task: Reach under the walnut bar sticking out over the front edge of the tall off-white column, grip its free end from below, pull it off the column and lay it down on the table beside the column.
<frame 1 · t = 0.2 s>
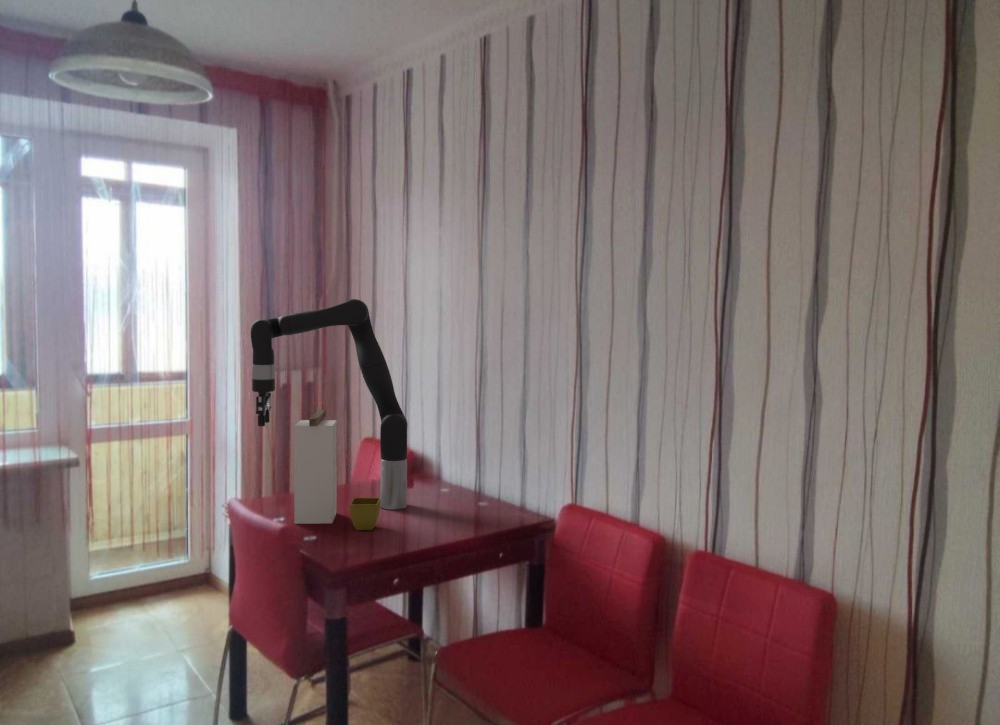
hand: (263, 424, 259), 29 cm above the table, tool pointing down, fingers open, 8 cm apart
flower pot: (365, 529, 239), on the table
off-white column: (315, 518, 249), on the table
walnut bar: (317, 421, 251), point 32 cm above the table, touching off-white column
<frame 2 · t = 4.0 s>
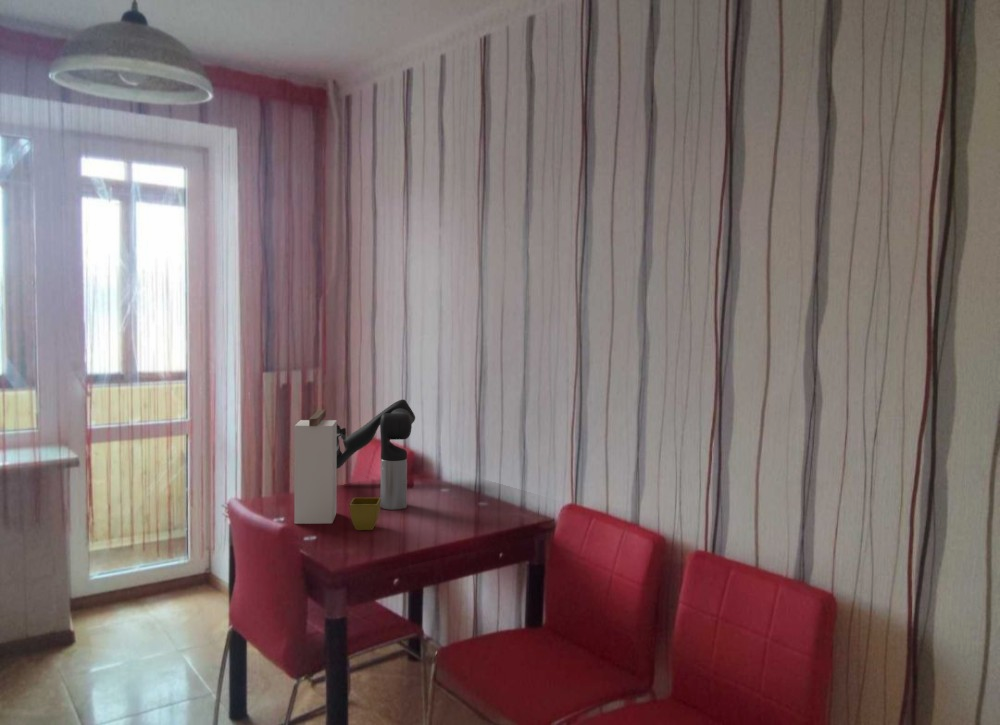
hand: (324, 426, 268), 27 cm above the table, tool pointing upward, fingers open, 8 cm apart
nothing on the table moved.
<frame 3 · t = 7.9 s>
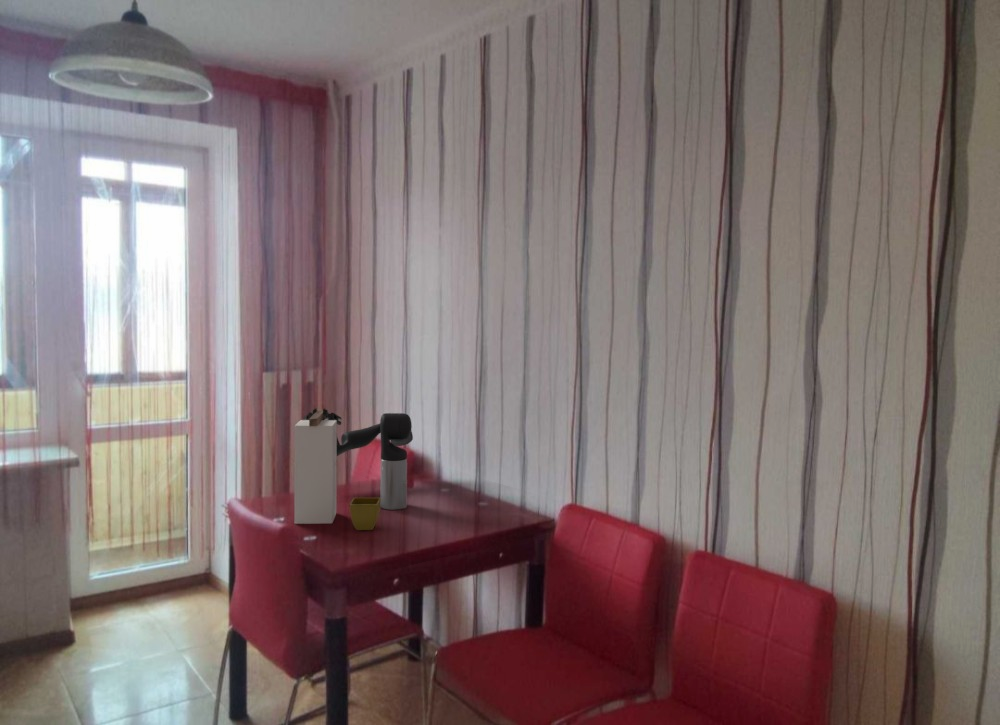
hand: (319, 411, 255), 35 cm above the table, tool pointing upward, fingers closed on walnut bar, 2 cm apart
walnut bar: (317, 421, 251), point 32 cm above the table, touching gripper, off-white column
everything else where it was.
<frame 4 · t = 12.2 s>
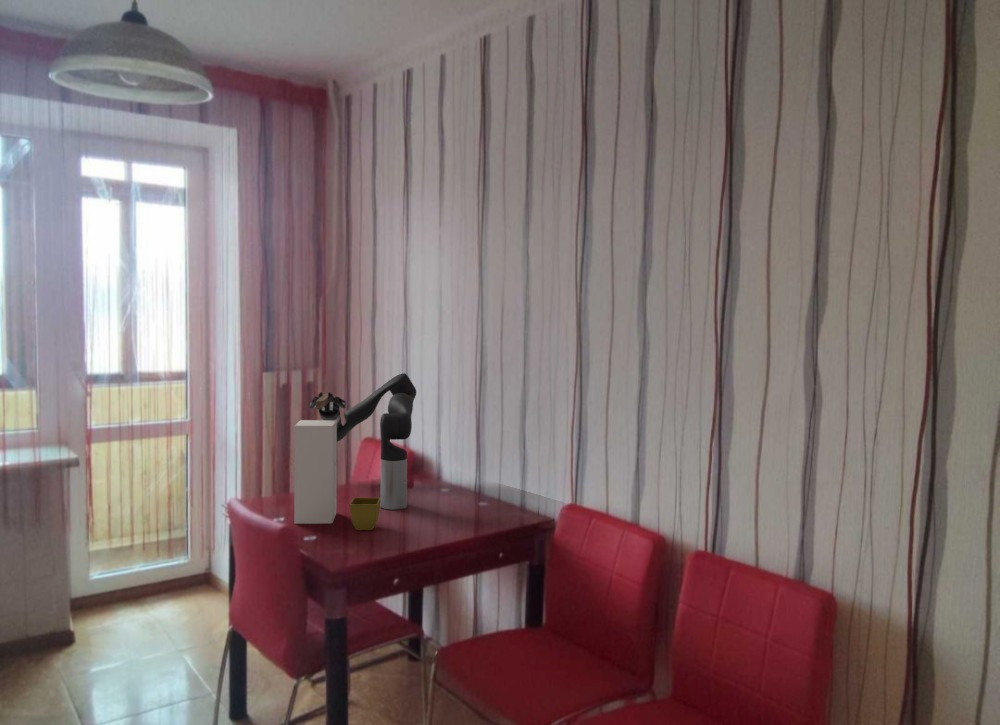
hand: (325, 394, 271), 38 cm above the table, tool pointing upward, fingers closed on walnut bar, 2 cm apart
walnut bar: (323, 404, 267), point 36 cm above the table, touching gripper
everything else where it was.
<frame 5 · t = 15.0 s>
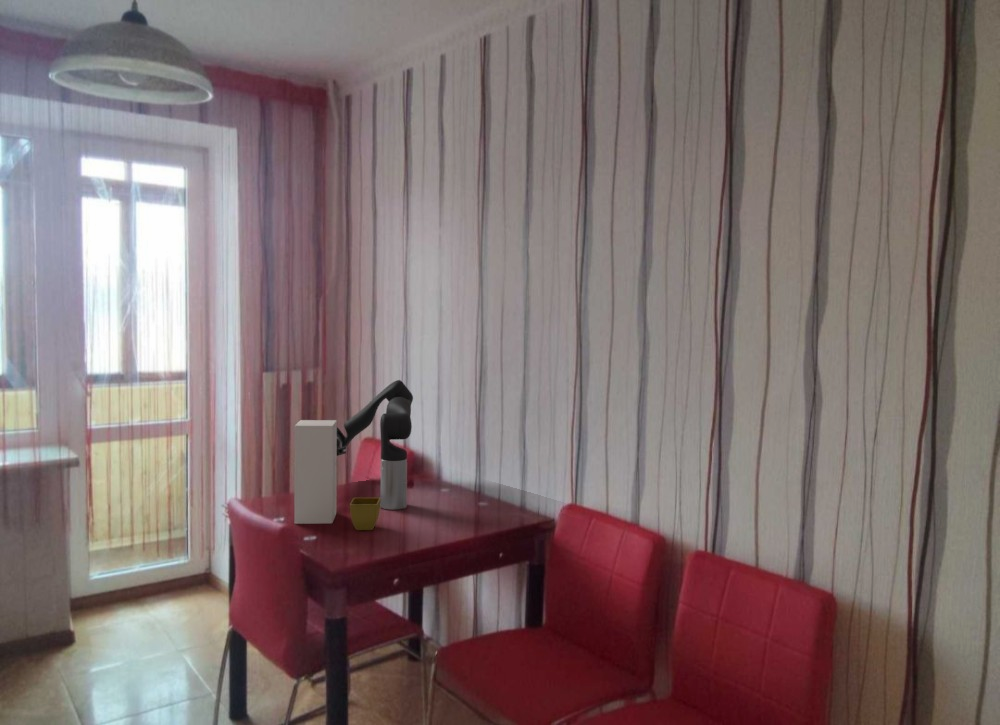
hand: (325, 454, 273), 17 cm above the table, tool horizontal, fingers closed on walnut bar, 2 cm apart
walnut bar: (324, 468, 270), point 12 cm above the table, tilted 29°, touching gripper
everything else where it was.
when the fingers open (11 cm above the table, at t = 16.9 s): walnut bar drops 7 cm, on the table.
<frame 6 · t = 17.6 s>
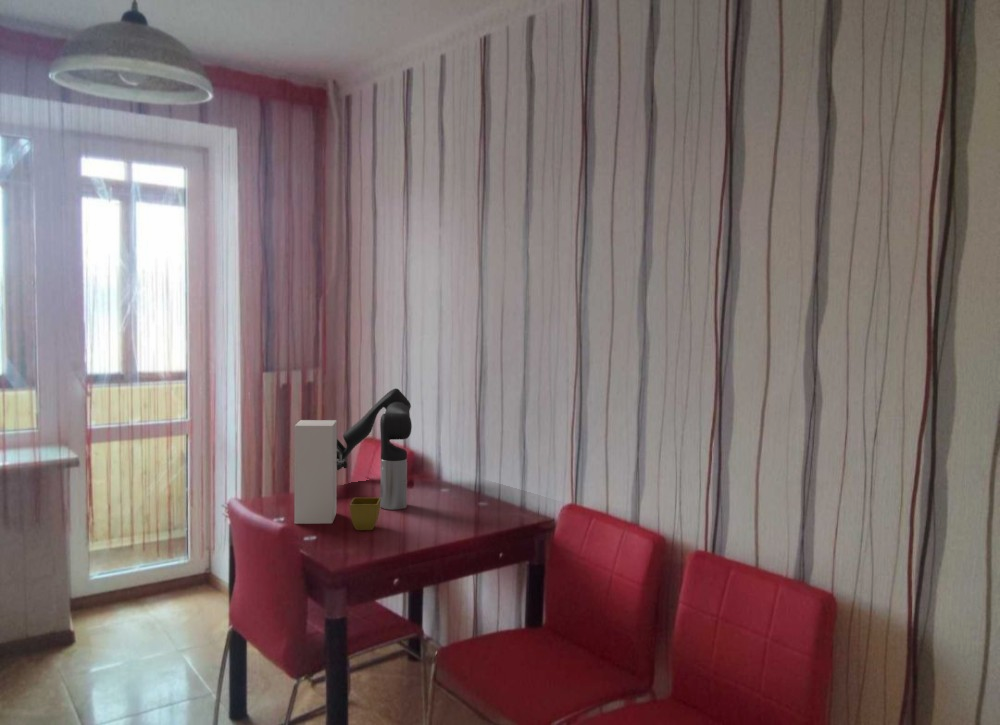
hand: (325, 467, 274), 12 cm above the table, tool horizontal, fingers open, 8 cm apart
walnut bar: (325, 500, 274), on the table
everything else where it was.
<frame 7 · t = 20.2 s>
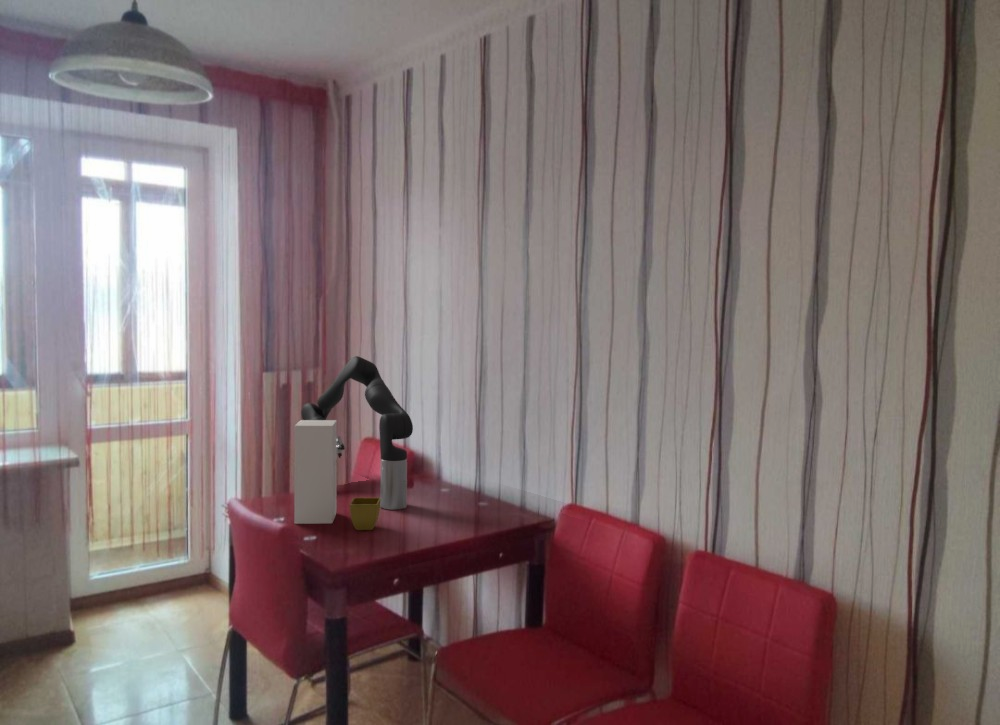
hand: (328, 459, 284), 12 cm above the table, tool tilted 65°, fingers open, 8 cm apart
nothing on the table moved.
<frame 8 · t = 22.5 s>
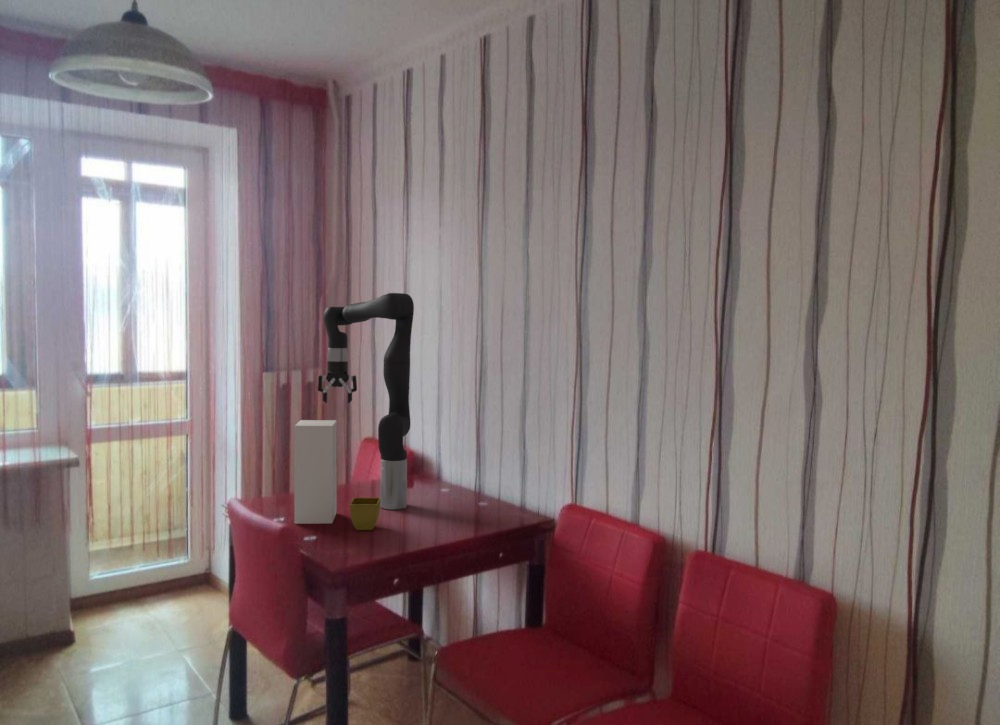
hand: (337, 402, 283), 34 cm above the table, tool pointing down, fingers open, 8 cm apart
nothing on the table moved.
at the end: walnut bar inside the target area (3.4 cm from its centre), on the table; walnut bar touching table; the gripper is holding nothing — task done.
